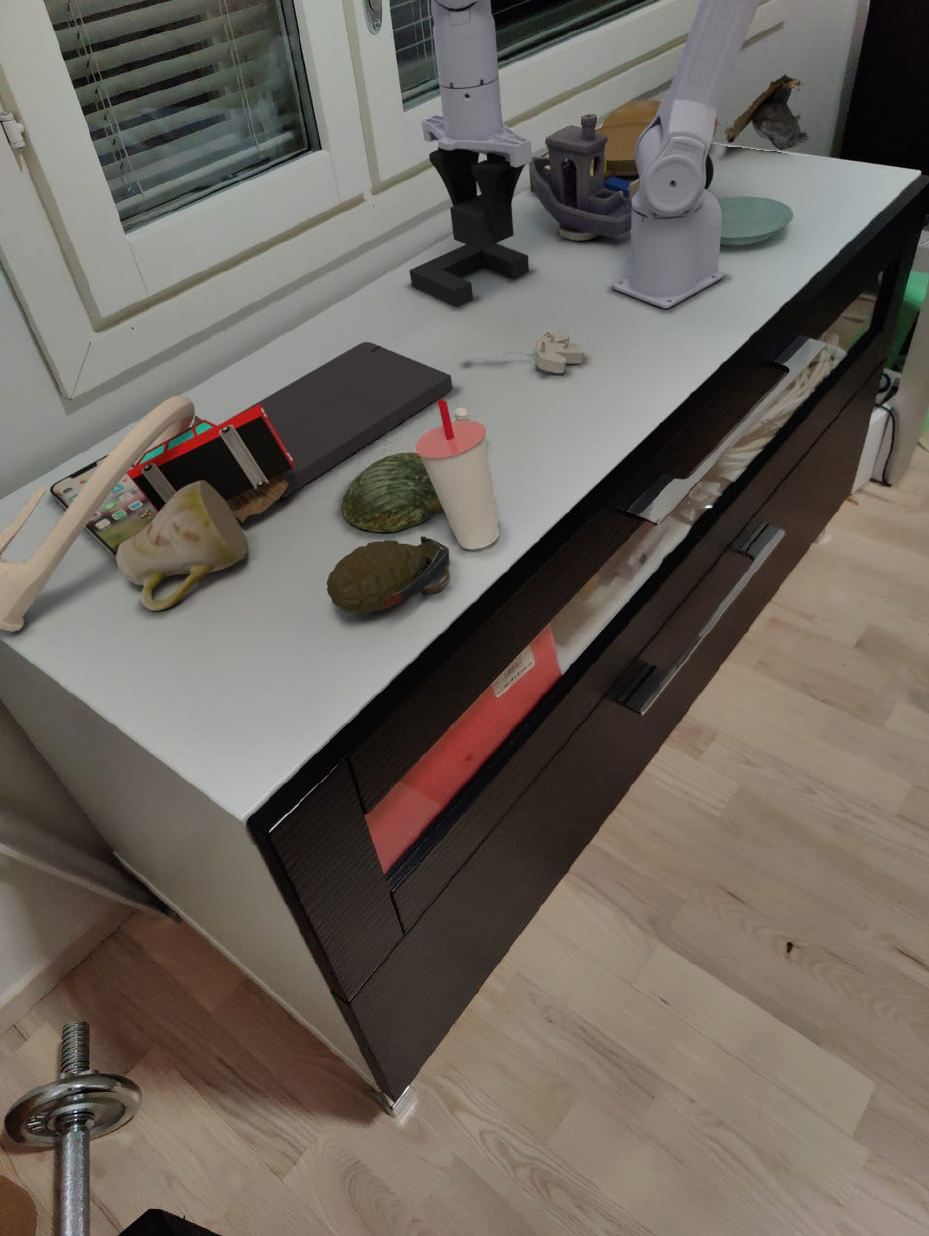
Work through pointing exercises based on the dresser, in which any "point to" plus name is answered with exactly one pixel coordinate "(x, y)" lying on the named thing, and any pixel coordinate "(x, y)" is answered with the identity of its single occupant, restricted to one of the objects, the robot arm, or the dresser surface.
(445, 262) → the u-shaped block
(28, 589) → the faucet
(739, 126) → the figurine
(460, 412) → the chess pawn
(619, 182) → the toy
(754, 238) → the saucer
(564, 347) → the grey lobed piece
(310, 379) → the notebook
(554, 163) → the toy boat
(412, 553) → the hand grenade
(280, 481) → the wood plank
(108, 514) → the smartphone
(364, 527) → the seashell
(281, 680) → the dresser surface
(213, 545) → the mug
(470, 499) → the cup
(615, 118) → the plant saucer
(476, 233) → the pad block
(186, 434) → the toy car
